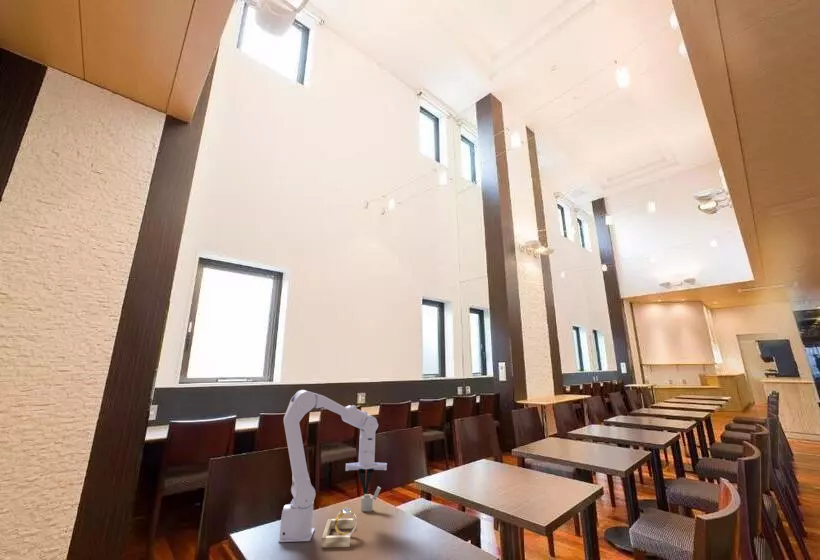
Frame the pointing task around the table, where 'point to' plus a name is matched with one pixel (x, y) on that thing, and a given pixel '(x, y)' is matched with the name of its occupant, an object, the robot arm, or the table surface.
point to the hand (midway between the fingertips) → (365, 492)
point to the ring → (344, 511)
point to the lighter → (369, 501)
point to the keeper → (340, 539)
